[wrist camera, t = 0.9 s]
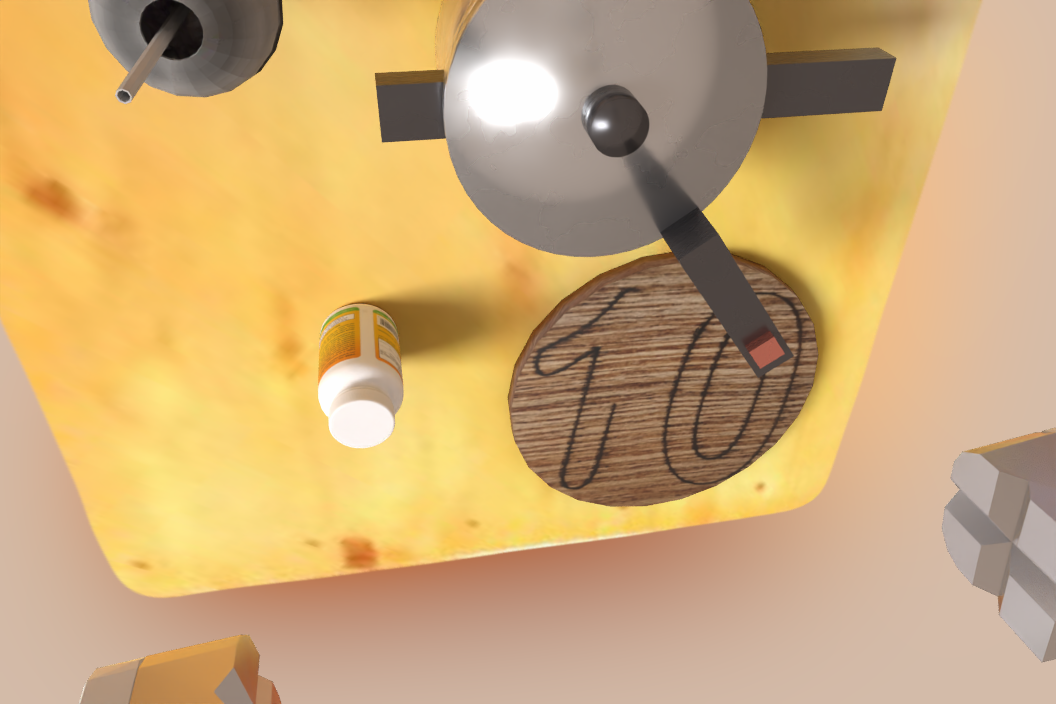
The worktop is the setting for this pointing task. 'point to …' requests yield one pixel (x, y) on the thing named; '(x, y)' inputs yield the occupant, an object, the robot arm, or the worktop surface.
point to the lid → (614, 133)
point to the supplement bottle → (360, 374)
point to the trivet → (653, 386)
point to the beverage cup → (188, 42)
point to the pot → (790, 91)
